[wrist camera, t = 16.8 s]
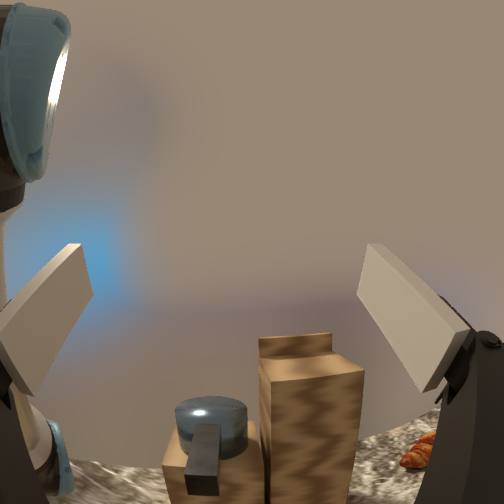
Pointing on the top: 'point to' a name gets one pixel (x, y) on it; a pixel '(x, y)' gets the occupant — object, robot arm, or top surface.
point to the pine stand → (289, 430)
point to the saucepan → (210, 439)
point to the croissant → (419, 452)
